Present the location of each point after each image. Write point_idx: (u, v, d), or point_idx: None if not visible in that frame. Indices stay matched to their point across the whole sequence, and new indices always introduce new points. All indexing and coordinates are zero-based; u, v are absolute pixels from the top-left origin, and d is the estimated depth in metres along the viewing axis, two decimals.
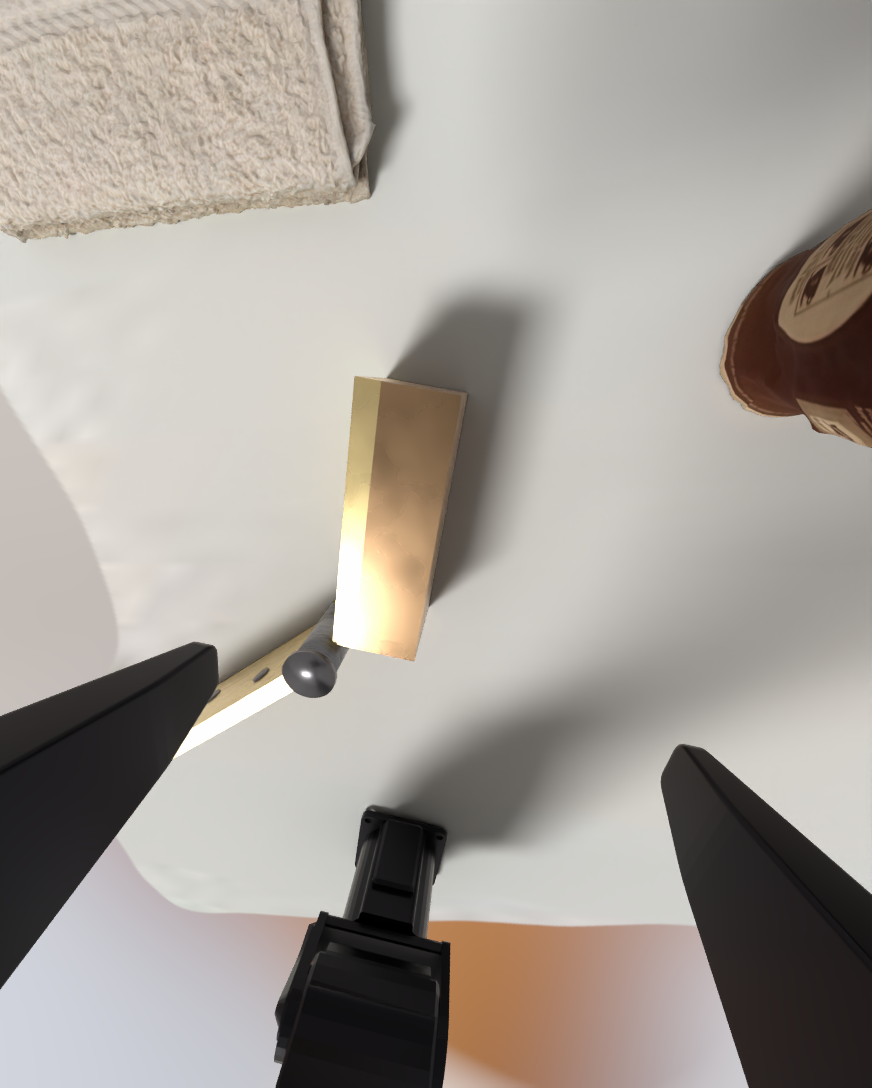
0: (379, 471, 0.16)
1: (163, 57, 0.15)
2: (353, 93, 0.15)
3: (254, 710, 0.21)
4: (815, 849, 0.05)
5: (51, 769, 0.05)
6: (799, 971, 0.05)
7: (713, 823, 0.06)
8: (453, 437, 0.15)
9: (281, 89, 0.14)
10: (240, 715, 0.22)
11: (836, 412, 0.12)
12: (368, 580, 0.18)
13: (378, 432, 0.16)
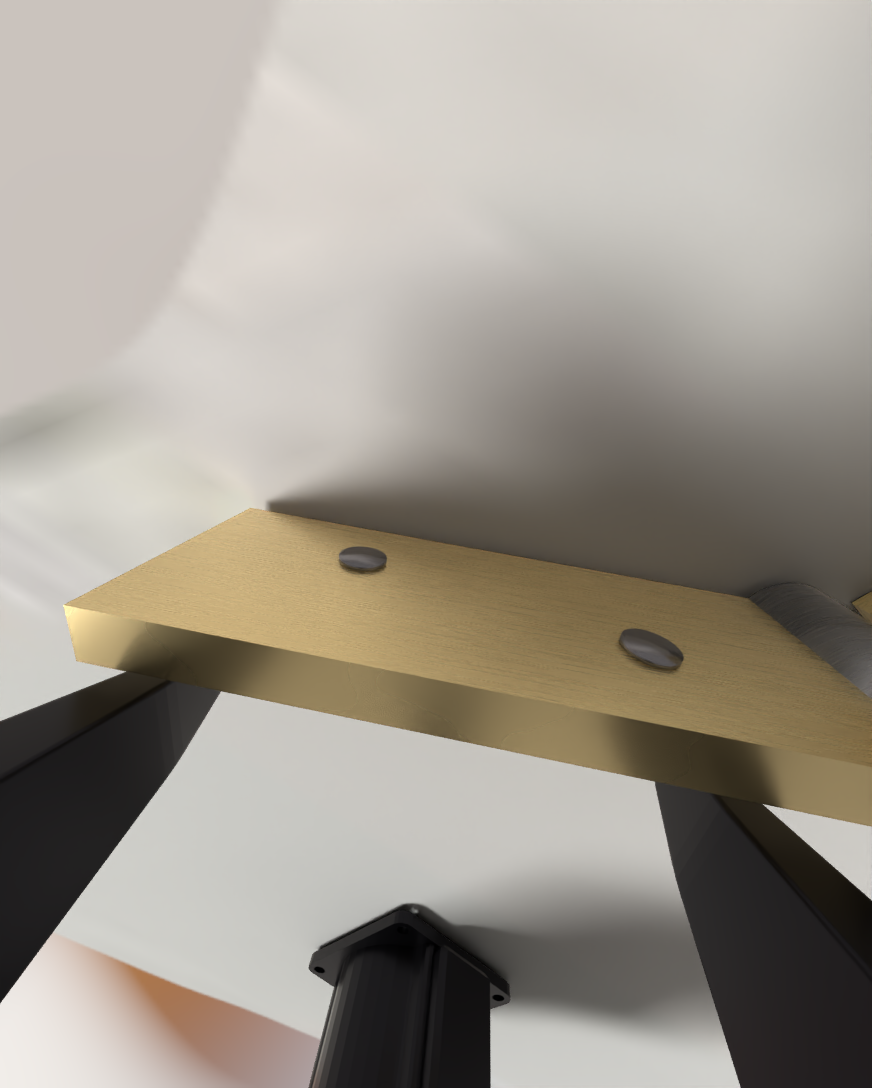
0: None
1: None
2: None
3: (671, 776, 0.06)
4: (807, 848, 0.05)
5: (60, 771, 0.05)
6: (790, 969, 0.05)
7: (706, 822, 0.06)
8: None
9: None
10: (603, 757, 0.06)
11: None
12: None
13: None
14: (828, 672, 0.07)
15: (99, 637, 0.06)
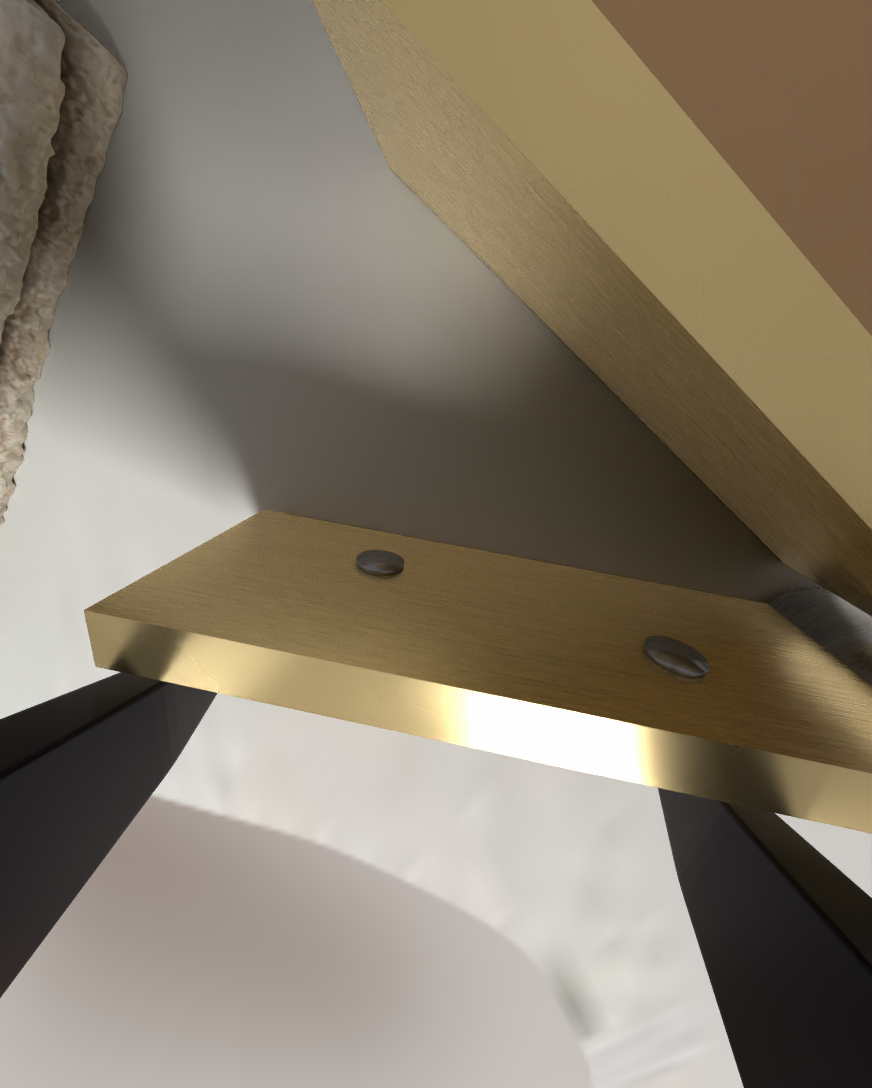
0: (674, 15, 0.03)
1: None
2: None
3: (701, 789, 0.06)
4: (811, 848, 0.05)
5: (57, 771, 0.05)
6: (793, 970, 0.05)
7: (709, 822, 0.06)
8: None
9: None
10: (632, 768, 0.06)
11: None
12: None
13: None
14: (855, 681, 0.07)
15: (119, 643, 0.06)
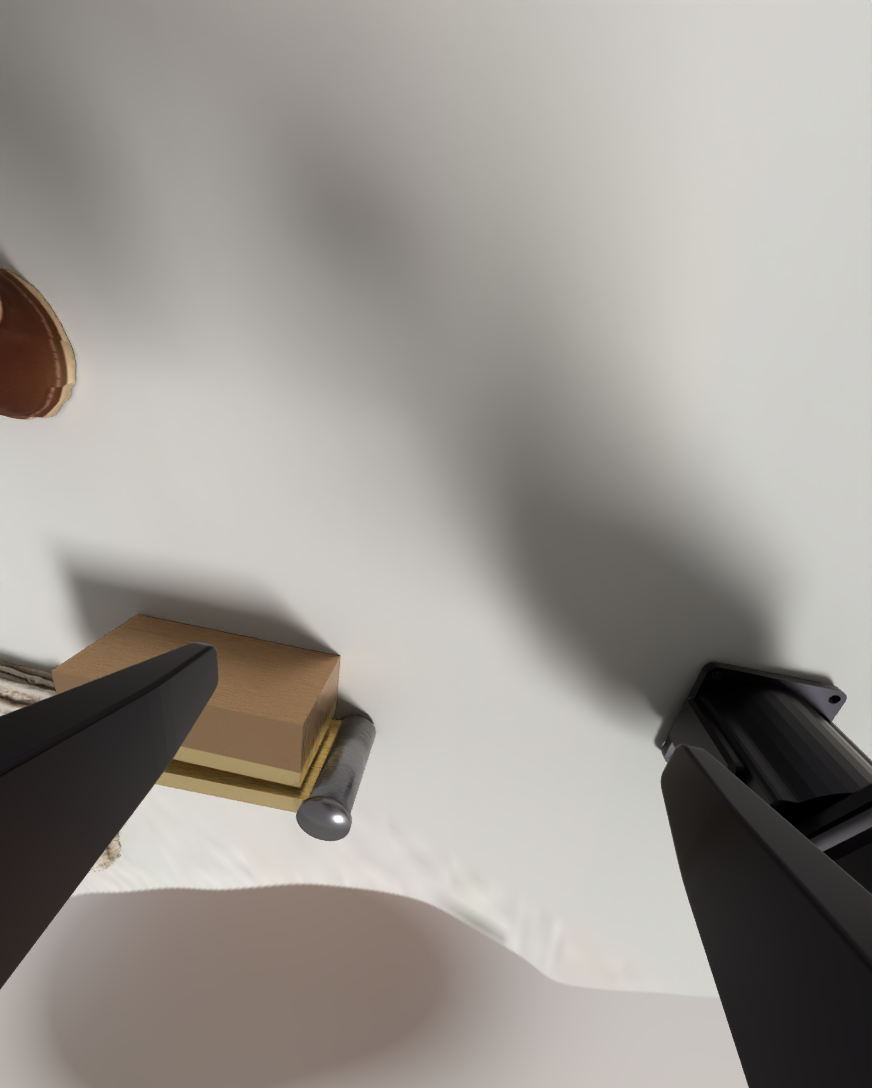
0: None
1: None
2: (39, 696, 0.25)
3: (236, 798, 0.20)
4: (815, 849, 0.05)
5: (51, 769, 0.05)
6: (799, 971, 0.05)
7: (713, 823, 0.06)
8: (82, 677, 0.19)
9: None
10: (217, 793, 0.20)
11: None
12: (224, 750, 0.19)
13: None
14: (319, 760, 0.21)
15: None
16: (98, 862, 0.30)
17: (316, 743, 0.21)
